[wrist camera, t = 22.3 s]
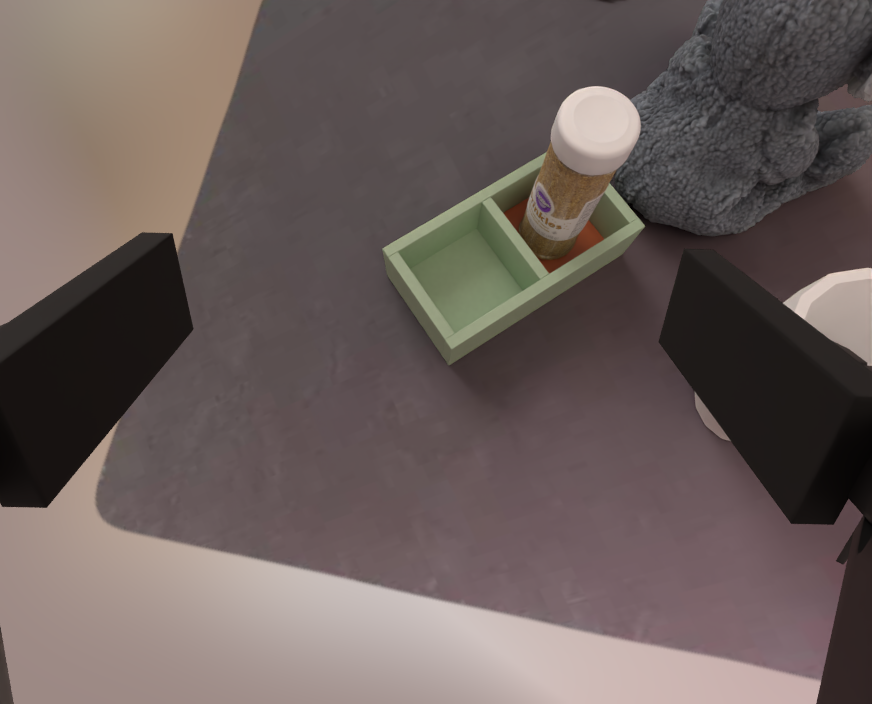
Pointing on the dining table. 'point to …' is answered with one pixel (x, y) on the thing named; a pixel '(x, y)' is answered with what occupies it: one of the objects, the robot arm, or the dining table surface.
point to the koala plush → (751, 113)
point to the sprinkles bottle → (578, 167)
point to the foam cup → (828, 318)
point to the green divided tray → (496, 262)
